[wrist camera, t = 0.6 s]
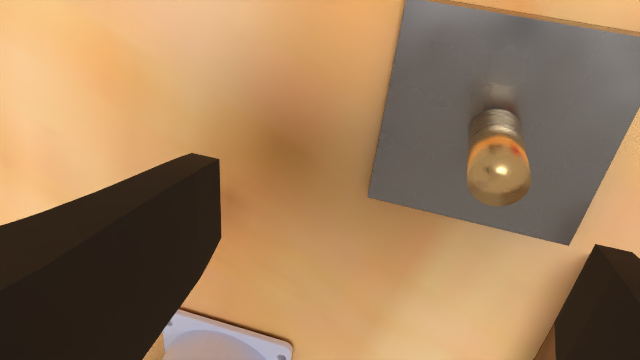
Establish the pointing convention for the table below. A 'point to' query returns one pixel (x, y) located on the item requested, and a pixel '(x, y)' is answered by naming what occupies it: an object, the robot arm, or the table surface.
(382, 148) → the panel
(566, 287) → the table surface
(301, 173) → the table surface
